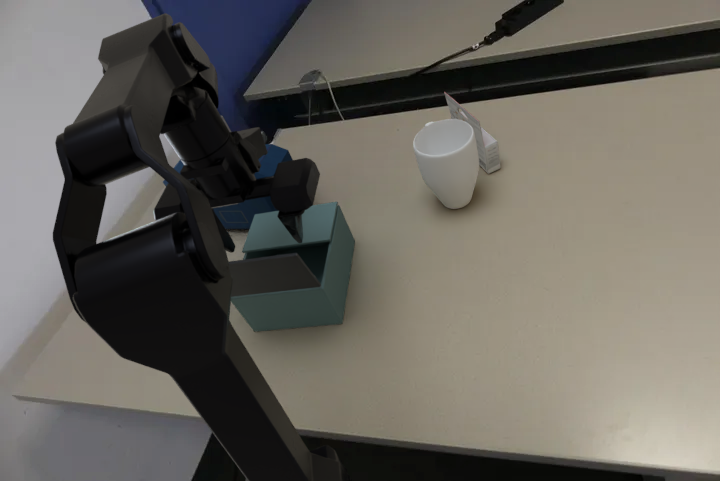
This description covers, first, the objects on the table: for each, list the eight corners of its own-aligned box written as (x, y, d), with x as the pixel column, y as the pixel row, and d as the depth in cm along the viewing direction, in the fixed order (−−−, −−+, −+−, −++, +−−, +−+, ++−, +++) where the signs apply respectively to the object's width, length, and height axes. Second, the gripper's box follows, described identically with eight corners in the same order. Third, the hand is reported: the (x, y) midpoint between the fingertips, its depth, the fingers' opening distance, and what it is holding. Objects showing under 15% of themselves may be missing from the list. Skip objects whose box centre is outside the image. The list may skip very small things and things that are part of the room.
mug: (494, 205, 75) (484, 140, 67) (439, 226, 75) (422, 164, 67) (464, 160, 83) (451, 98, 76) (415, 179, 84) (397, 120, 76)
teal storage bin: (342, 324, 68) (320, 284, 62) (254, 331, 72) (226, 295, 66) (355, 240, 78) (337, 200, 73) (277, 251, 82) (254, 213, 76)
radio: (316, 196, 88) (267, 93, 75) (297, 234, 83) (240, 130, 70) (216, 198, 97) (156, 106, 84) (193, 232, 92) (125, 140, 78)
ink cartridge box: (467, 135, 88) (457, 84, 81) (502, 168, 79) (494, 114, 73) (453, 142, 88) (443, 91, 81) (487, 175, 79) (478, 122, 73)
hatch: (321, 284, 63) (320, 287, 62) (227, 294, 66) (226, 297, 66) (296, 252, 57) (296, 255, 57) (195, 265, 61) (194, 268, 60)
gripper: (301, 82, 57) (346, 189, 67) (155, 116, 62) (218, 210, 72) (280, 145, 49) (334, 255, 60) (116, 177, 54) (192, 273, 65)
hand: (266, 245), depth 64 cm, fingers open, 9 cm apart
